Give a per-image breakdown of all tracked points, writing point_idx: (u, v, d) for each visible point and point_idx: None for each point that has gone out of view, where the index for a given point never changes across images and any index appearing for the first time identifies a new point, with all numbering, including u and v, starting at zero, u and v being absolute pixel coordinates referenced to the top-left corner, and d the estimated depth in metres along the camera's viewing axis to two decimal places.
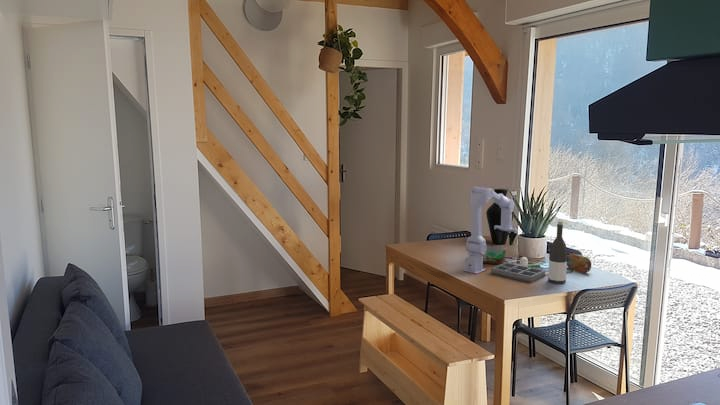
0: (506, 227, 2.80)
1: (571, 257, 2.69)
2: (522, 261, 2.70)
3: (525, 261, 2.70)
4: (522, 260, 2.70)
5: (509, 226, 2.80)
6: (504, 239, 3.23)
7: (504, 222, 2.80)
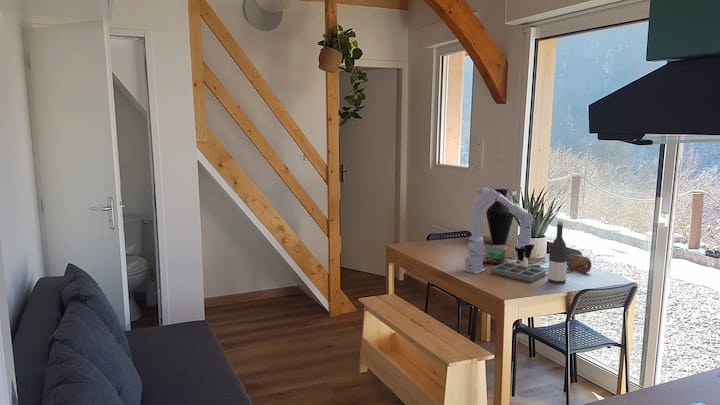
0: (519, 241, 2.70)
1: (571, 257, 2.69)
2: (522, 261, 2.70)
3: (525, 261, 2.70)
4: None
5: (521, 240, 2.68)
6: (504, 239, 3.23)
7: None
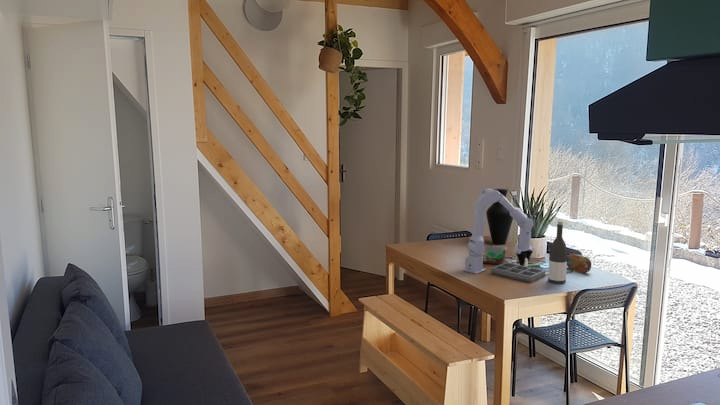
0: (519, 246, 2.71)
1: (571, 257, 2.69)
2: None
3: (525, 261, 2.70)
4: None
5: (521, 246, 2.69)
6: (504, 239, 3.23)
7: (519, 240, 2.71)
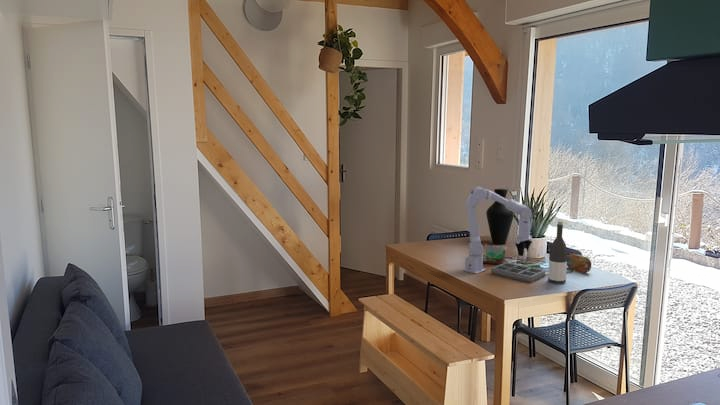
0: (518, 236, 2.63)
1: (571, 257, 2.69)
2: None
3: (524, 251, 2.63)
4: None
5: (520, 236, 2.62)
6: (504, 239, 3.23)
7: (518, 230, 2.64)
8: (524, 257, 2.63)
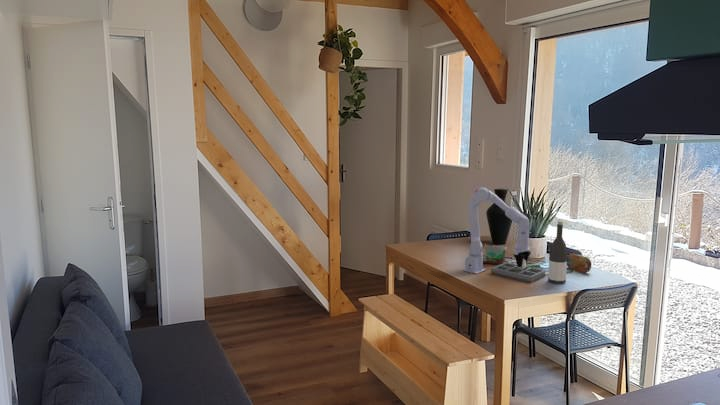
0: None
1: (571, 257, 2.69)
2: None
3: (523, 262, 2.59)
4: None
5: (518, 246, 2.58)
6: (504, 239, 3.23)
7: None
8: (523, 268, 2.60)
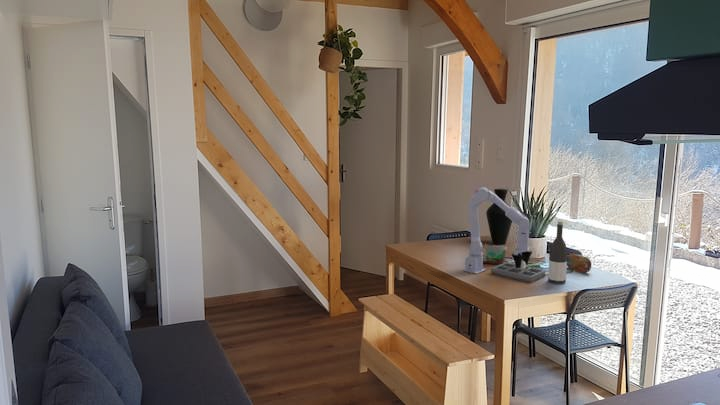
0: None
1: (571, 257, 2.69)
2: None
3: (523, 265, 2.59)
4: None
5: (518, 247, 2.58)
6: (504, 239, 3.23)
7: None
8: None
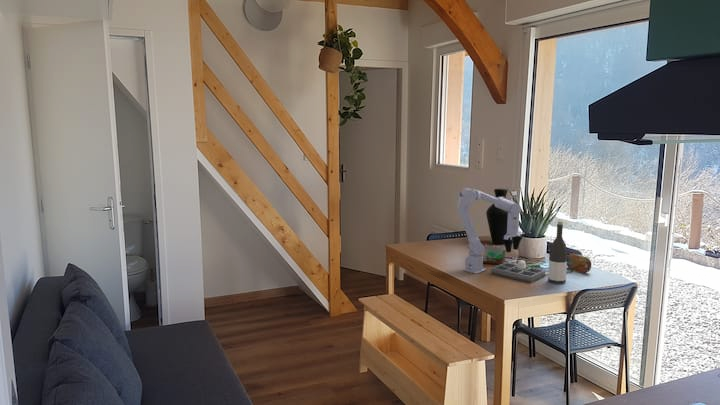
0: (507, 232, 2.66)
1: (571, 257, 2.69)
2: (520, 265, 2.60)
3: (523, 265, 2.59)
4: (520, 263, 2.60)
5: (509, 232, 2.64)
6: None
7: (507, 226, 2.66)
8: None
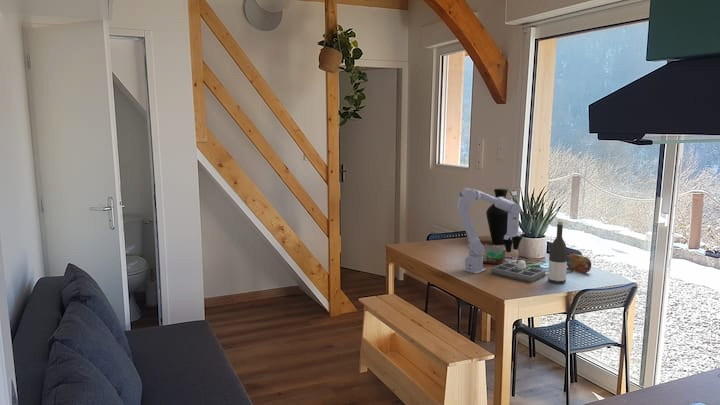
0: (507, 232, 2.66)
1: (571, 257, 2.69)
2: (520, 265, 2.60)
3: (523, 265, 2.59)
4: (520, 263, 2.60)
5: (509, 232, 2.64)
6: None
7: (507, 226, 2.66)
8: None
